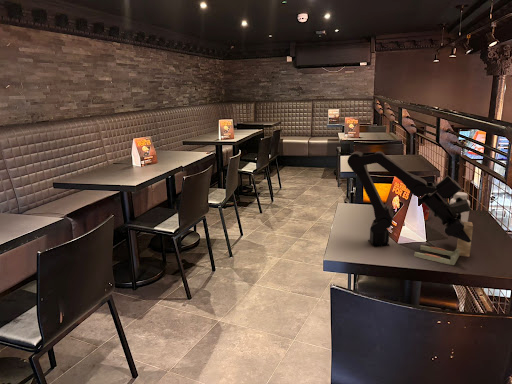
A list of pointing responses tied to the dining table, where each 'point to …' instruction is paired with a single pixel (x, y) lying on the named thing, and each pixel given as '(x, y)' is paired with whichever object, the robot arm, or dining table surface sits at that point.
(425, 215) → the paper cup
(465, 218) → the pill bottle
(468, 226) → the birch finger
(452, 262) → the sage rail
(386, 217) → the robot arm
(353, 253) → the dining table surface
